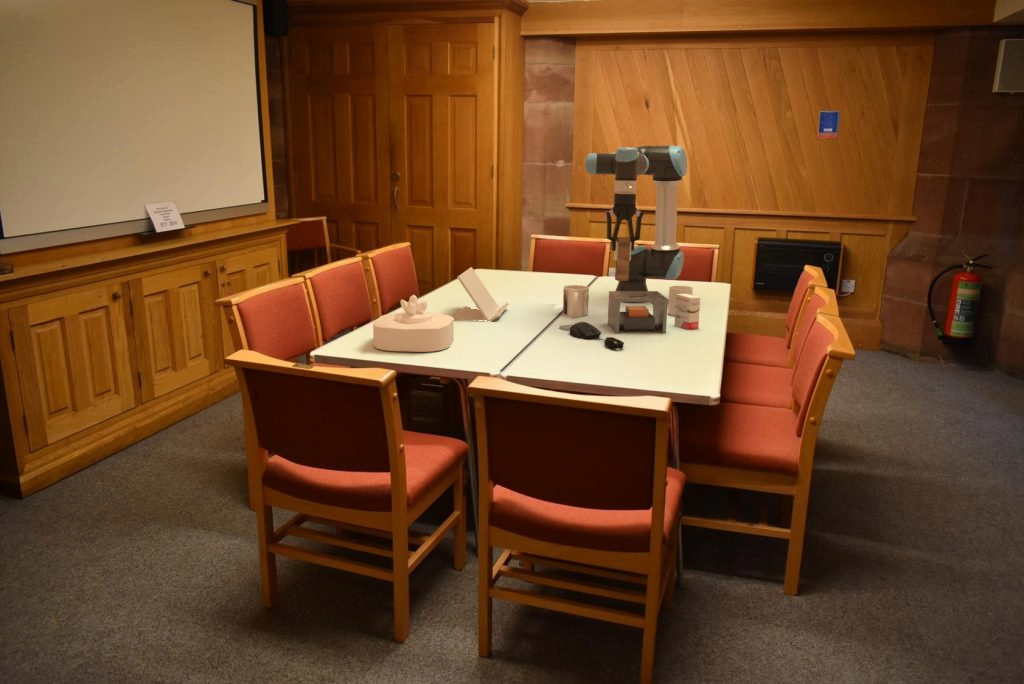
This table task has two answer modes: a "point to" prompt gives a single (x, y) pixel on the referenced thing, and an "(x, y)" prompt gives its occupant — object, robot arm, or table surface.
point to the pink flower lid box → (413, 329)
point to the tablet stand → (478, 299)
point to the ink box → (687, 311)
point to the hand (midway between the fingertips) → (622, 259)
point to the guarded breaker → (637, 323)
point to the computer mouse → (593, 334)
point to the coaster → (565, 327)
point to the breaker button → (636, 311)
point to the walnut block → (622, 259)
